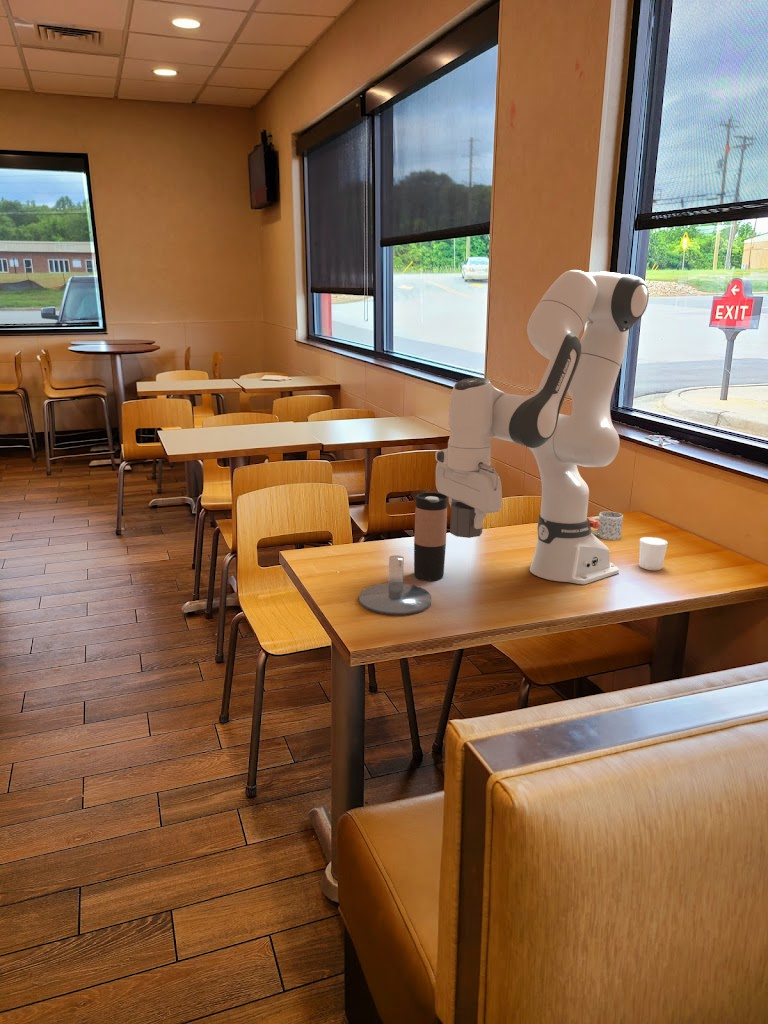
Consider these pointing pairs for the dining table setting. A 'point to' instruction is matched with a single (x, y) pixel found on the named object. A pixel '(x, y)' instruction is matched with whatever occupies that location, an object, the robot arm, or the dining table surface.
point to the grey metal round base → (395, 594)
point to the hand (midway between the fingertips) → (466, 522)
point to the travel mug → (430, 536)
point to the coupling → (463, 521)
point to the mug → (608, 525)
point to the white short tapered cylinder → (652, 553)
